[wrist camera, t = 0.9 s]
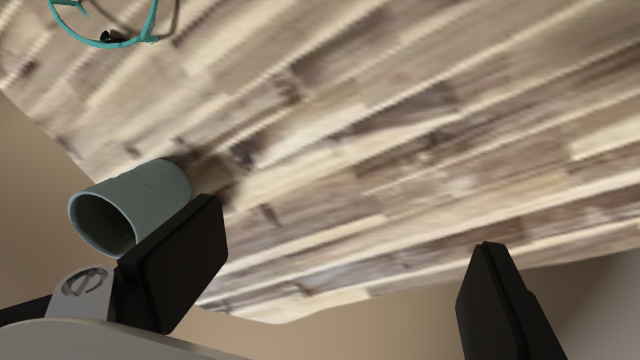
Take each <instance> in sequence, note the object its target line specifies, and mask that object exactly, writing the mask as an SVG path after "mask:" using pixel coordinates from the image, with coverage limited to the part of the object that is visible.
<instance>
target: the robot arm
mask: <svg viewBox="0 0 640 360" xmlns="http://www.w3.org/2000/svg"><path fill="white" fill-rule="evenodd" d="M227 258H228V248H227V241H226V233H225V226H224V218H223V211H222V204H221V201H220V200H218V198H217V196H215V195H209V194H200V195H198V196H197V197H196V198H194V199H193V200H192V201H191V202H189V203H188V204H187V205H186V206H184V207H183V208H182V209H181V210H179V211H178V212H177V213H175V214H174V215H173V216H172V217H170V218H169V219H168V220H167V221H165V222H164V223H163V224H162V225H160V226H159V227H158V228H157V229H155V230H154V231H153V232H152V233H150V234H149V235H148V236H147V237H145V238H144V239H143V240H142V241H140V242H139V243H138V244H137V245H135V246H134V247H133V248H132V249H130V250H129V251H128V252H126V253H125V254H124V255H123V256H121V257H120V258H119V259H118V260H117V263H118V266H117V267H116V268H115V269H112V267H110V266H108V265H104V264H96V265H91V266H87V267H84V268H81V269H78V270H76V271H74V272H72V273H71V274H69V275H68V276H66V277H65V278H64V279H62V280H61V282H59V283H58V285H57V286H56V288H55V290H54V293H53V294H51V295H47V296H45V297H41V298H38V299H34V300H31V301H28V302H24V303H21V304H18V305H14V306H11V307H8V308H4V309H1V310H0V360H252V359H248V358H245V357H241V356H238V355H234V354H230V353H227V352H223V351H220V350H216V349H212V348H209V347H205V346H201V345H198V344H194V343H191V342H187V341H183V340H180V339H176V338H173V337H169V336H165V335H168V334H170V333H171V332H172V331H173V330H174V329H175V327H176V326H177V325H178V324H179V322H180V321H181V320H182V318H183V317H184V315H185V314H186V313H187V312H188V310H189V309H190V308H191V307H192V305H193V304H194V303H195V301H196V300H197V299H198V298H199V296H200V295H201V294H202V292H203V291H204V290H205V288H206V287H207V286H208V284H209V283H210V282H211V281H212V279H213V278H214V277H215V275H216V274H217V273H218V271H219V270H220V269H221V268H222V266H223V265H224V264H225V262H226V260H227ZM455 311H456V317H457V322H458V327H459V332H460V336H461V342H462V347H463V351H464V357H465V360H568V359H567V357H566V355H565V353H564V351H563V349H562V347H561V345H560V343H559V341H558V339H557V338H556V336H555V334H554V332H553V330H552V328H551V326H550V324H549V322H548V320H547V318H546V316H545V315H544V312H543V310H542V308H541V306H540V304H539V303H538V301H537V299H536V297H535V295H534V294H533V293H532V292H531V291H529V290H527V288H526V286H525V284H524V282H523V280H522V278H521V276H520V274H519V272H518V270H517V268H516V266H515V264H514V262H513V260H512V258H511V256H510V254H509V252H508V250H507V248H506V246H505V245H504V244H500V243H494V242H488V241H484V242H483V243H482V245H480V244H477V245H476V246H475V249H474V252H473V255H472V257H471V260H470V263H469V266H468V269H467V272H466V274H465V277H464V280H463V283H462V286H461V289H460V292H459V295H458V297H457V300H456V306H455Z"/></svg>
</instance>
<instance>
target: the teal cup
mask: <svg viewBox="0 0 640 360" xmlns="http://www.w3.org/2000/svg"><path fill="white" fill-rule="evenodd" d="M190 185H191V184H190V181H189V180H188V178H187V176H186V175H185V173H184V172H183V171H182V170H181V169H180V168H179V167H178V166H177V165H176V164H174V163H172V162H170V161H167V160H164V159H156V160H151V161H149V162H147V163H144V164H142V165H139V166H137V167H136V168H134V169H132V170H130V171H128V172H125V173H122V174H120V175H119V176H117V177H115V178H109V179H107V180H105V181H103V182H101V183H98V184H96V185H94V186H91V187H89V188H86V189H84V190H82V191H80V192H77V193H75V194H74V195H73V196H72V197H71V198H70V200H69V203H68V214H69V217H70V220H71V222H72V224H73V226H74V228H75V229H76V231H77V232H78V233H79V235H80V236H81V237H82V238H83V239H84V240H85V241H86V242H87V243H88V244H89V245H91V246H92V247H93V248H95V249H96V250H98V251H99V252H101V253H103V254H105V255H107V256H110V257H113V258H120V257H121V256H123V255H124V254H125V253H126V252H128V251H129V250H130V249H132V248H133V247H134V246H135V245H137V244H138V243H139V242H140V241H142V240H143V239H144V238H145V237H147V236H148V235H149V234H150V233H152V232H153V231H154V230H155V229H157V228H158V227H159V226H160V225H162V224H163V223H164V222H165V221H167V220H168V219H169V218H170V217H172V216H173V215H174V214H175V213H177V212H178V211H179V210H180V209H182V208H183V207H184V206H185V205H186V204H187V203H188V201H189V200H190V198H191V194H192V191H191V190H192V188H191V186H190Z"/></svg>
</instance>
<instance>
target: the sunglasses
mask: <svg viewBox="0 0 640 360" xmlns="http://www.w3.org/2000/svg"><path fill="white" fill-rule="evenodd" d="M158 1H159V0H153V4H152V7H151V10H150V13H149V16H148V19H147V21H146V23H145V25H144V27H143V30H142V32H141V34H140V36H137V37H135V38H133V39H131V40H129V41H126V40H125V39H124V38H114V39H111V40H109V38H110V34H109V33H108V31H106V30H105V31H104V32H103V33H104V34H103V33H102V34H101V37H100V41H97V40H90V39H86V38H84V37H82V36H80V35H78V34H76V33H75V32H74V31H72V30H71V29H70V28H69V27H68V26H67V25H66V24H65V23H64V22H63V20H61V19H60V16H59V14H58V13H57V11H56V10H55V8H54V6H53V4H60V5H70V6H77V7H78V9H79V10H80V11H81V12H82V13H83V14H84V13H85V14H86V15H87V16H88V14H87V13H86V12H85V11H84V9H83V7H82V6H81V5H80V3H79V2H77V1H72V0H48V6H49V8H50V10H51V11H52V13H53V15H54V16H55V20H56V21H57V22H58V23H59V25H60V26H61V27H62V28H63V29H64V30H66V31H67V32H68V33H69V34H70V35H71V36H73V37H74V38H76V39H77V40H79V41H81V42H83V43H85V44H87V45H90V46H93V47H97V48H105V49H114V48H124V47H129V46H130V45H132V44H134V43H137V42H146V43H149V42H152V43H151V44H153V43H155V42H156V41H158V40H159V36H158V35H157V36H150V34H151V31H152V29H153V27H154V26H155V16H156V10H157V5H158ZM85 14H84V15H85ZM86 15H85V16H86ZM88 17H89V16H88ZM89 18H90V17H89Z"/></svg>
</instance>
